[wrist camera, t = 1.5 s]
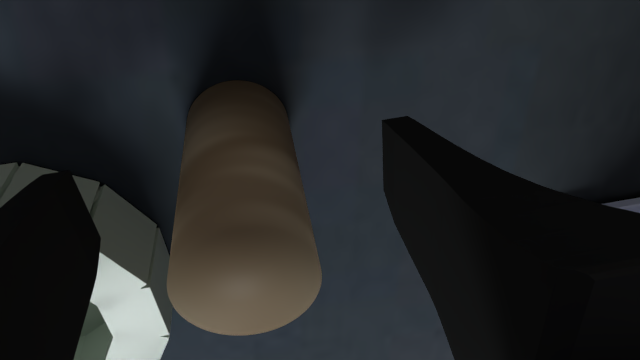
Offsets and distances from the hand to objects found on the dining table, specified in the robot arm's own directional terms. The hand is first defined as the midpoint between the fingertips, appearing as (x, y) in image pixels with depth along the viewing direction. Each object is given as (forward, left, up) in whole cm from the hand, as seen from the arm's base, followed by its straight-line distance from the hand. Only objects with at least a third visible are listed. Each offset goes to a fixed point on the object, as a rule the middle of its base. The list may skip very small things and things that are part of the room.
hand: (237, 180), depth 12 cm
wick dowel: (0, 0, -3) cm, 3 cm away
